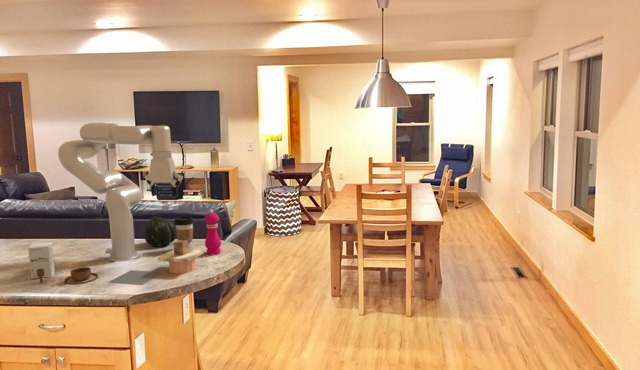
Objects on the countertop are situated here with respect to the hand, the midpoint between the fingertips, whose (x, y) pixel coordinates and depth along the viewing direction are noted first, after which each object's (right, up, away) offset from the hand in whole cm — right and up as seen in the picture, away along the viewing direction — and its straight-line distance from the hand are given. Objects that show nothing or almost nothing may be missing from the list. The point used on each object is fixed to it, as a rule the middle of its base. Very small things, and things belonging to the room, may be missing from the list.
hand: (164, 195), depth 214 cm
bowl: (+10, -30, -11) cm, 33 cm away
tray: (-5, -32, -19) cm, 37 cm away
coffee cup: (+3, -26, +22) cm, 34 cm away
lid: (+10, -24, -11) cm, 28 cm away
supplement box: (-45, -32, -12) cm, 56 cm away
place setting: (-30, -33, -18) cm, 48 cm away
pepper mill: (+18, -26, +14) cm, 35 cm away
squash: (-11, -25, +32) cm, 42 cm away
